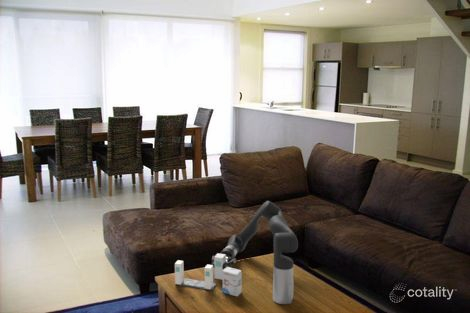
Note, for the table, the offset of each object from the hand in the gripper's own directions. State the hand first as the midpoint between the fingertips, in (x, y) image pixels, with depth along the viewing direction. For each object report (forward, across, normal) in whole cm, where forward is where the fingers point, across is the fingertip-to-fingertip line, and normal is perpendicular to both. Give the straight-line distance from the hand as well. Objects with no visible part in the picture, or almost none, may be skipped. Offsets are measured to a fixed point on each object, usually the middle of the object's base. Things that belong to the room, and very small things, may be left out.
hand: (218, 266), depth 225 cm
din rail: (+9, -9, +7) cm, 15 cm away
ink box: (+11, +11, +7) cm, 17 cm away
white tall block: (-3, 0, +7) cm, 8 cm away
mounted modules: (+11, -9, +6) cm, 16 cm away
